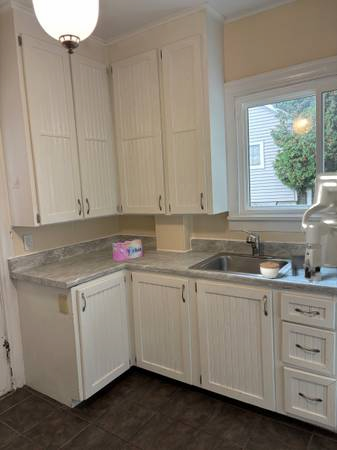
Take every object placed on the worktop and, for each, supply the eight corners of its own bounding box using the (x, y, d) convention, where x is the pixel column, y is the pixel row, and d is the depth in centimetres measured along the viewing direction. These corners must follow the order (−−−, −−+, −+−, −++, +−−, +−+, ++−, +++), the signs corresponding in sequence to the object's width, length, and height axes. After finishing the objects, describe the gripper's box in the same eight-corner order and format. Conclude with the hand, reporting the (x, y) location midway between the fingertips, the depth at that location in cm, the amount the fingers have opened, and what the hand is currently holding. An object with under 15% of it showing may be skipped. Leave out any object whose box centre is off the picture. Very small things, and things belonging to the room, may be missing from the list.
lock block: (304, 279, 186) (304, 270, 186) (309, 278, 189) (309, 268, 188) (316, 282, 180) (316, 272, 180) (321, 280, 183) (321, 271, 183)
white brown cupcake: (275, 274, 198) (275, 259, 197) (282, 279, 188) (282, 263, 187) (257, 275, 198) (257, 260, 197) (263, 280, 187) (263, 264, 186)
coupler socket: (291, 268, 210) (291, 254, 209) (310, 269, 207) (310, 254, 206) (292, 276, 194) (292, 260, 193) (312, 276, 190) (312, 261, 189)
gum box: (138, 254, 272) (137, 238, 270) (144, 256, 266) (143, 239, 264) (113, 259, 257) (111, 242, 256) (118, 261, 251) (117, 243, 249)
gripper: (310, 249, 174) (310, 280, 176) (327, 244, 184) (327, 274, 186) (297, 247, 180) (297, 278, 182) (315, 243, 190) (314, 272, 192)
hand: (312, 276), depth 184 cm, fingers open, 9 cm apart
